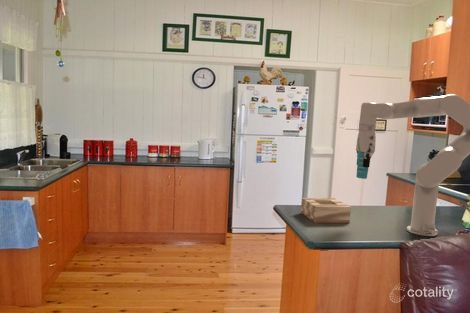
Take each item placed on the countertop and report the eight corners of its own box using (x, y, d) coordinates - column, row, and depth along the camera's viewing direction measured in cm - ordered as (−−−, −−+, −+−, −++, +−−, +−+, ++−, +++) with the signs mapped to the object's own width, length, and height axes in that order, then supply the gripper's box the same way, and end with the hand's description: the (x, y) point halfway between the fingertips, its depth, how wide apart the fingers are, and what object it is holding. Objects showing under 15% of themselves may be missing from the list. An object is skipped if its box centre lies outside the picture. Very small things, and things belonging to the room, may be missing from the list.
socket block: (349, 223, 183) (350, 206, 182) (314, 223, 180) (315, 206, 179) (333, 213, 201) (334, 198, 200) (300, 213, 197) (302, 198, 196)
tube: (352, 177, 184) (357, 138, 181) (355, 176, 188) (359, 137, 185) (368, 179, 180) (373, 139, 177) (370, 178, 184) (375, 139, 182)
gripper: (384, 130, 173) (379, 169, 176) (365, 127, 190) (361, 163, 192) (369, 129, 172) (364, 168, 174) (351, 127, 188) (347, 163, 191)
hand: (362, 165), depth 183 cm, fingers closed on tube, 5 cm apart
